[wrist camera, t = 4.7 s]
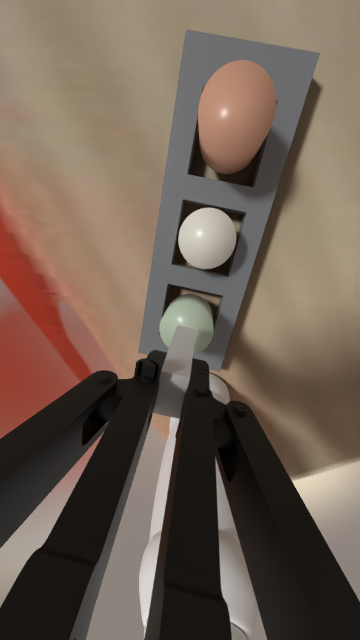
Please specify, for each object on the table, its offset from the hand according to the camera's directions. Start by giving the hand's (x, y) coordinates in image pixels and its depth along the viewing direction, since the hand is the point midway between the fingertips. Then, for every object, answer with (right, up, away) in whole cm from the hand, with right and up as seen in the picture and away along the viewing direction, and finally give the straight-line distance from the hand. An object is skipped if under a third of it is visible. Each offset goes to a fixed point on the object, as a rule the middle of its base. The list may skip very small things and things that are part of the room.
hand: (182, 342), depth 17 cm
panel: (+3, +10, +5) cm, 12 cm away
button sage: (+1, +2, +6) cm, 7 cm away
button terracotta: (+4, +17, +1) cm, 17 cm away
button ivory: (+3, +10, +5) cm, 12 cm away
